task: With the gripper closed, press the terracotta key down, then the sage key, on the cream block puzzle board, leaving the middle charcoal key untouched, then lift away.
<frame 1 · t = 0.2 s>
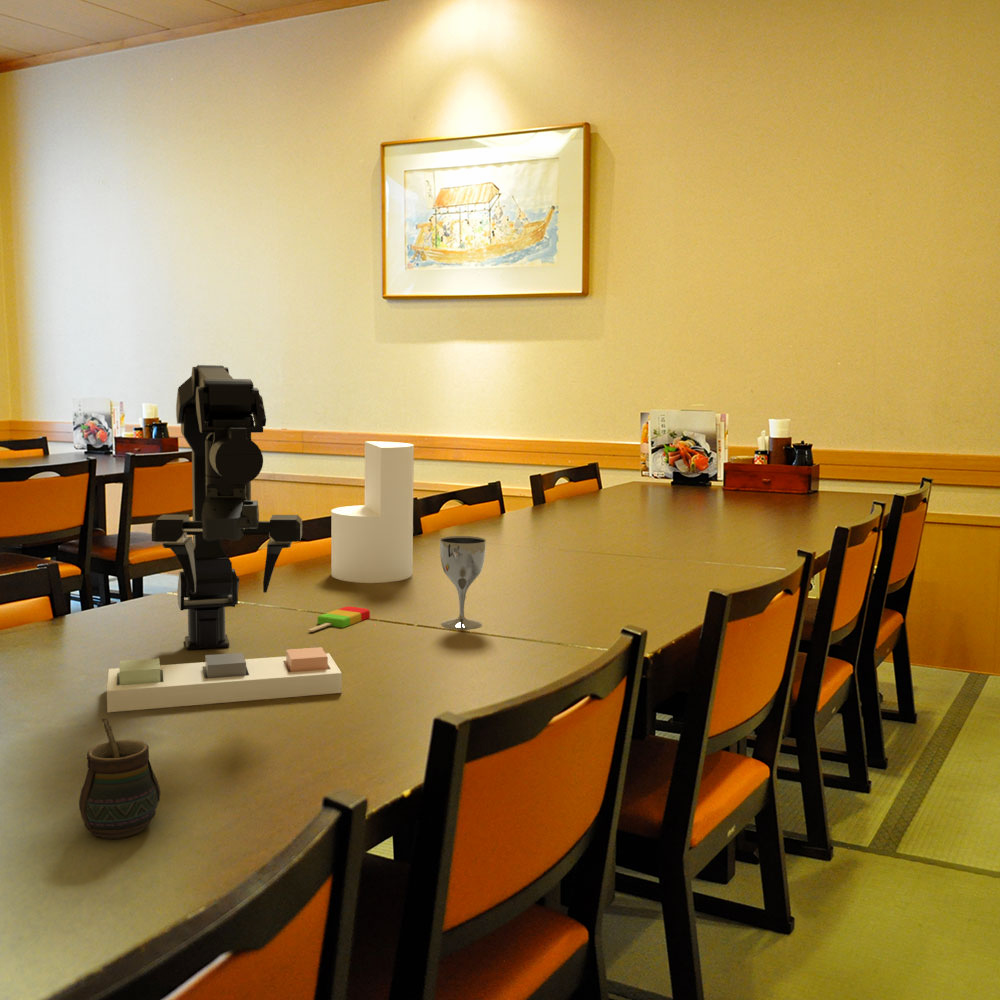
hand: (229, 592, 136), 14 cm above the table, fingers open, 9 cm apart
mate gourd: (119, 830, 99), on the table
terracotta key: (306, 661, 143), point 3 cm above the table, slide at 0.0 cm
wine glass: (461, 625, 179), on the table
cylinder: (371, 575, 220), on the table
popsicle: (335, 627, 178), on the table
charcoal key: (225, 667, 140), point 3 cm above the table, slide at 0.0 cm
cream block puzzle board: (225, 690, 140), on the table
sage key: (140, 673, 136), point 3 cm above the table, slide at 0.0 cm
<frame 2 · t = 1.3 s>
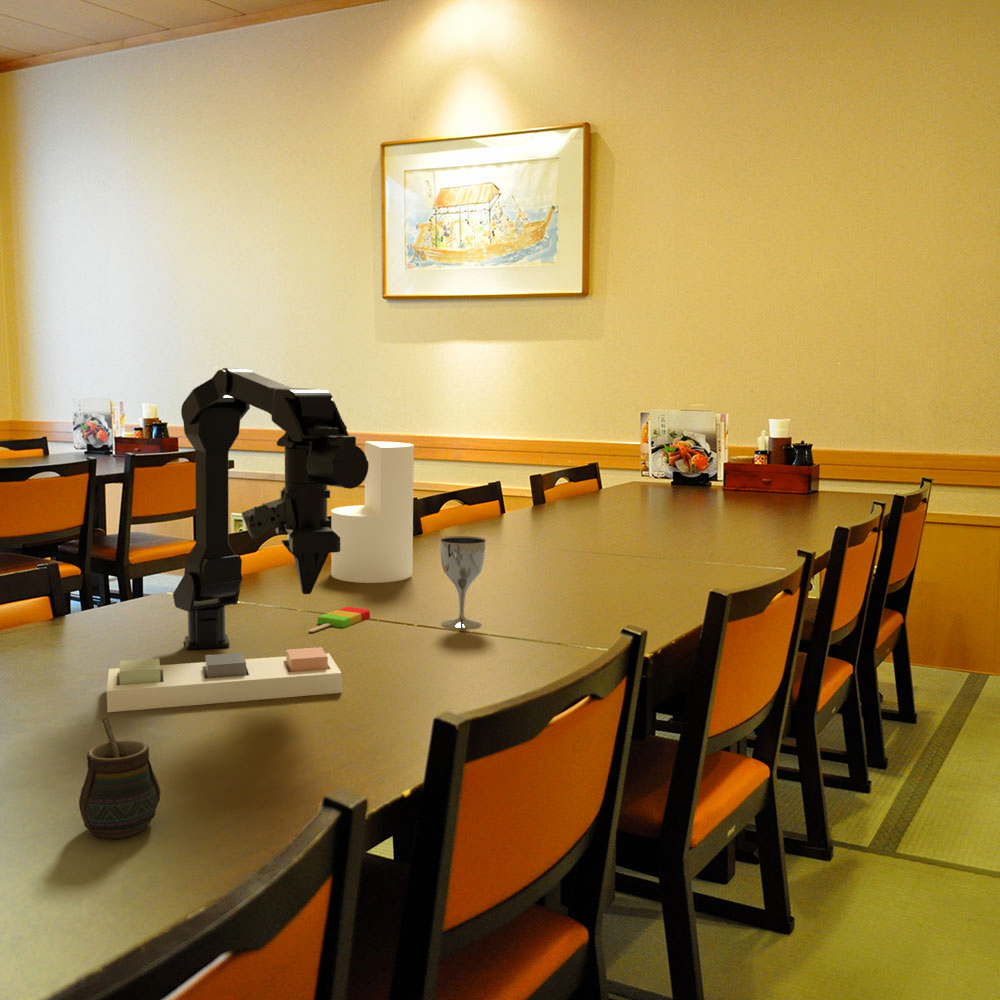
hand: (306, 593, 142), 13 cm above the table, fingers closed
nothing on the table moved.
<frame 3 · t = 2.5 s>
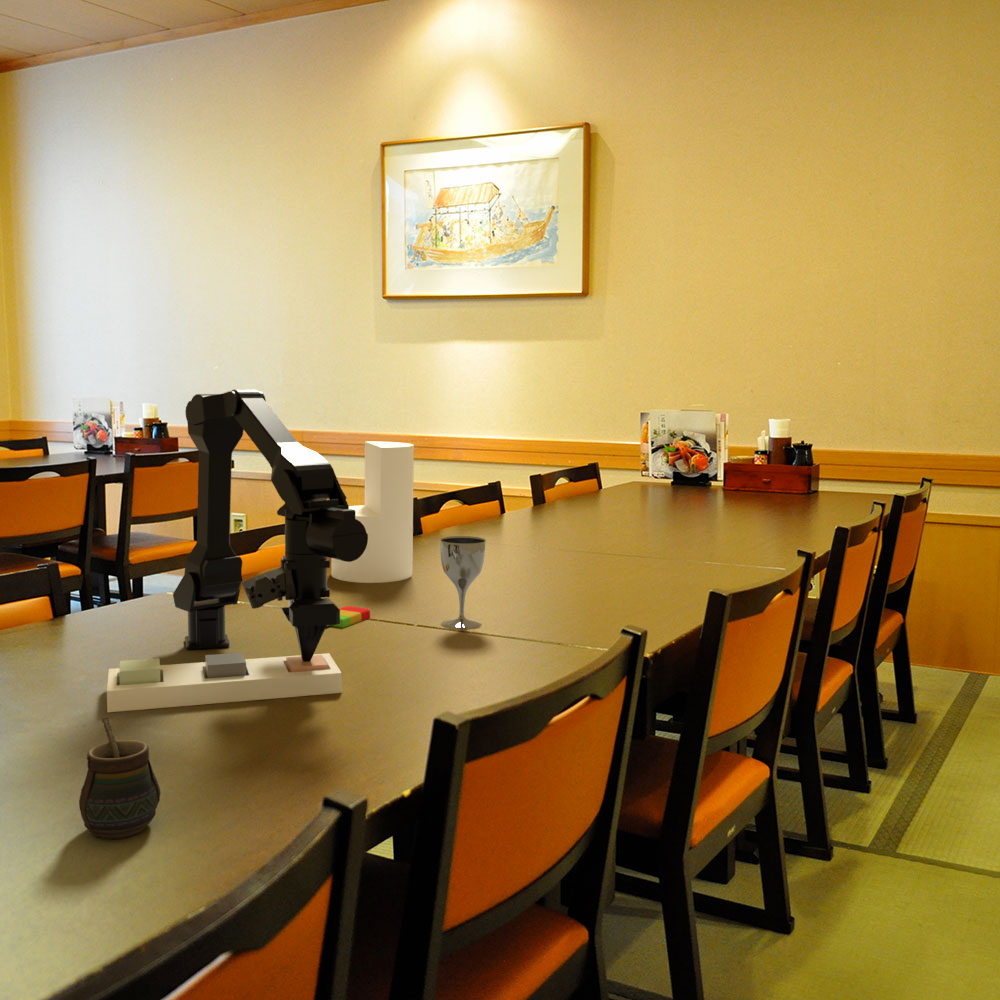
hand: (306, 660, 143), 3 cm above the table, fingers closed, pressing on terracotta key
terracotta key: (306, 669, 144), point 2 cm above the table, slide at 1.1 cm, touching gripper
everything else where it was.
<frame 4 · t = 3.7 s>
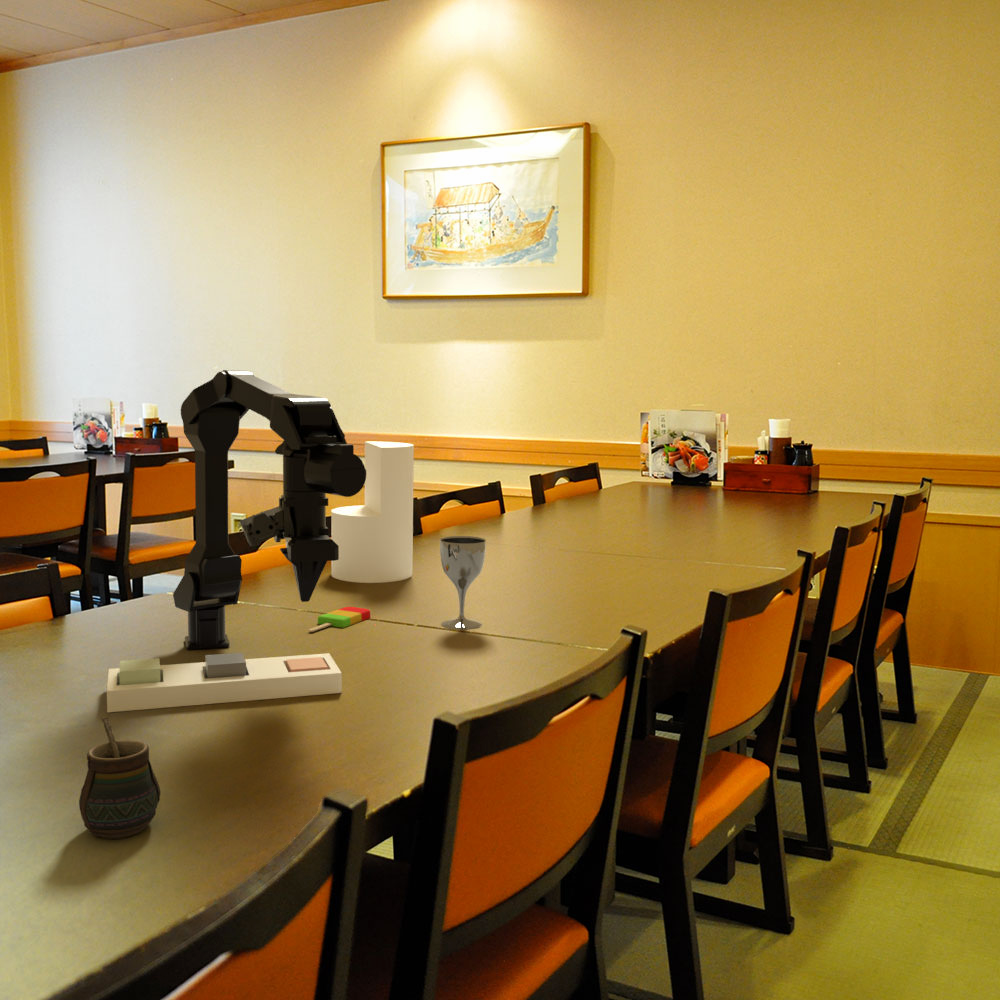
hand: (304, 601, 142), 12 cm above the table, fingers closed
terracotta key: (306, 671, 144), point 2 cm above the table, slide at 1.5 cm
everything else where it was.
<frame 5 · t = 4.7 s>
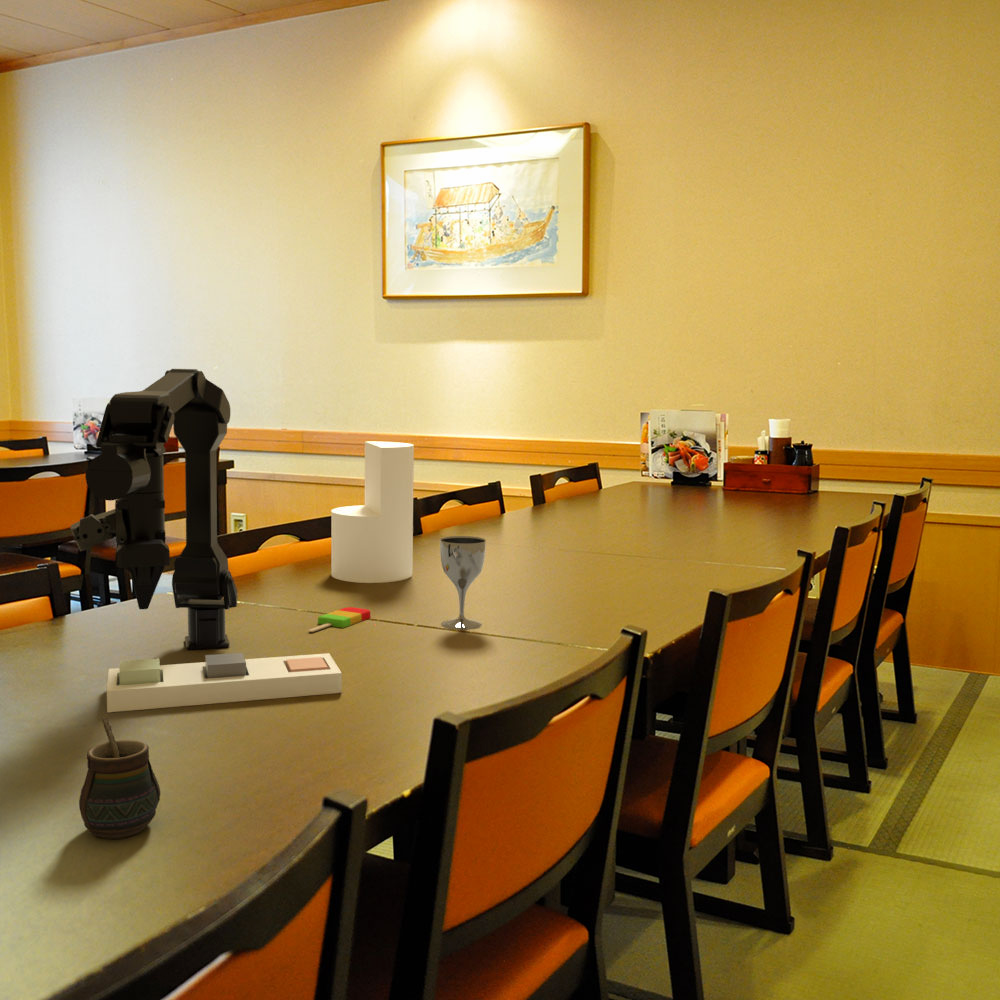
hand: (143, 608, 135), 12 cm above the table, fingers closed
nothing on the table moved.
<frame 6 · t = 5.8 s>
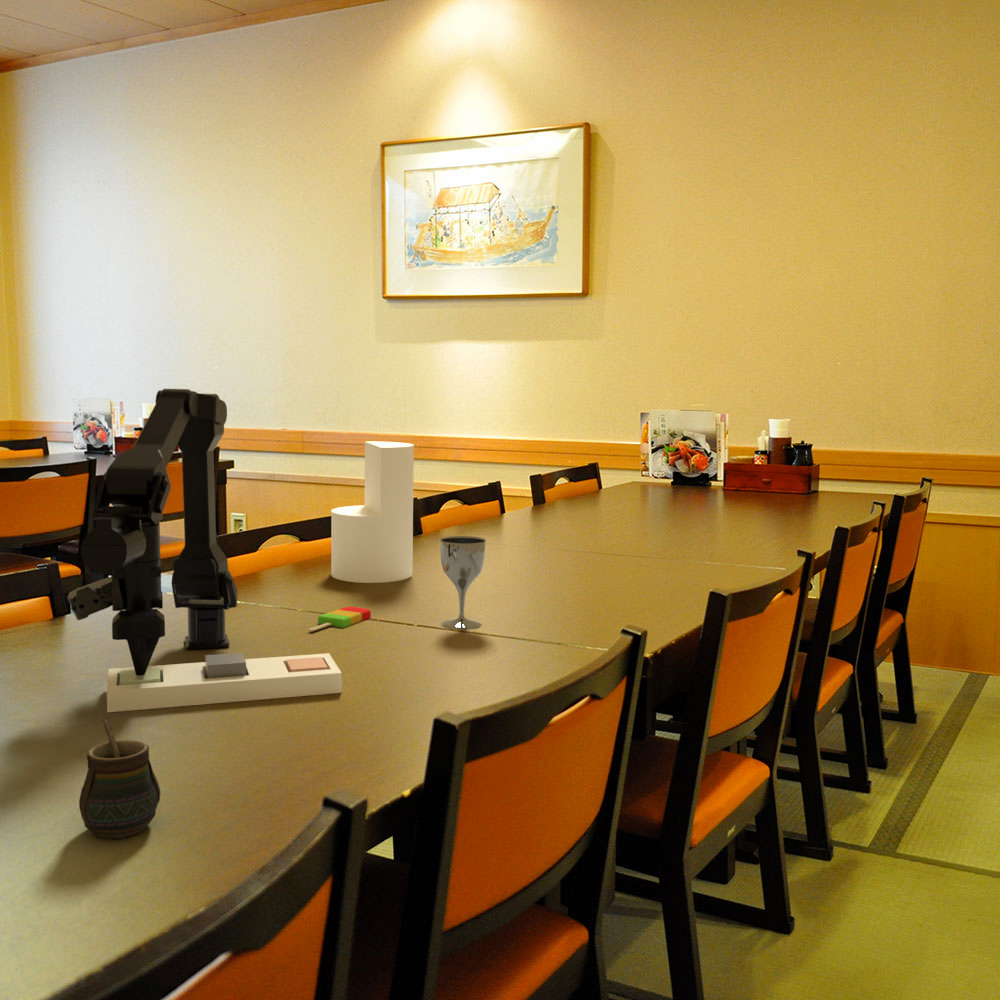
hand: (140, 674, 136), 3 cm above the table, fingers closed, pressing on sage key
sage key: (140, 683, 136), point 2 cm above the table, slide at 1.4 cm, touching gripper
everything else where it was.
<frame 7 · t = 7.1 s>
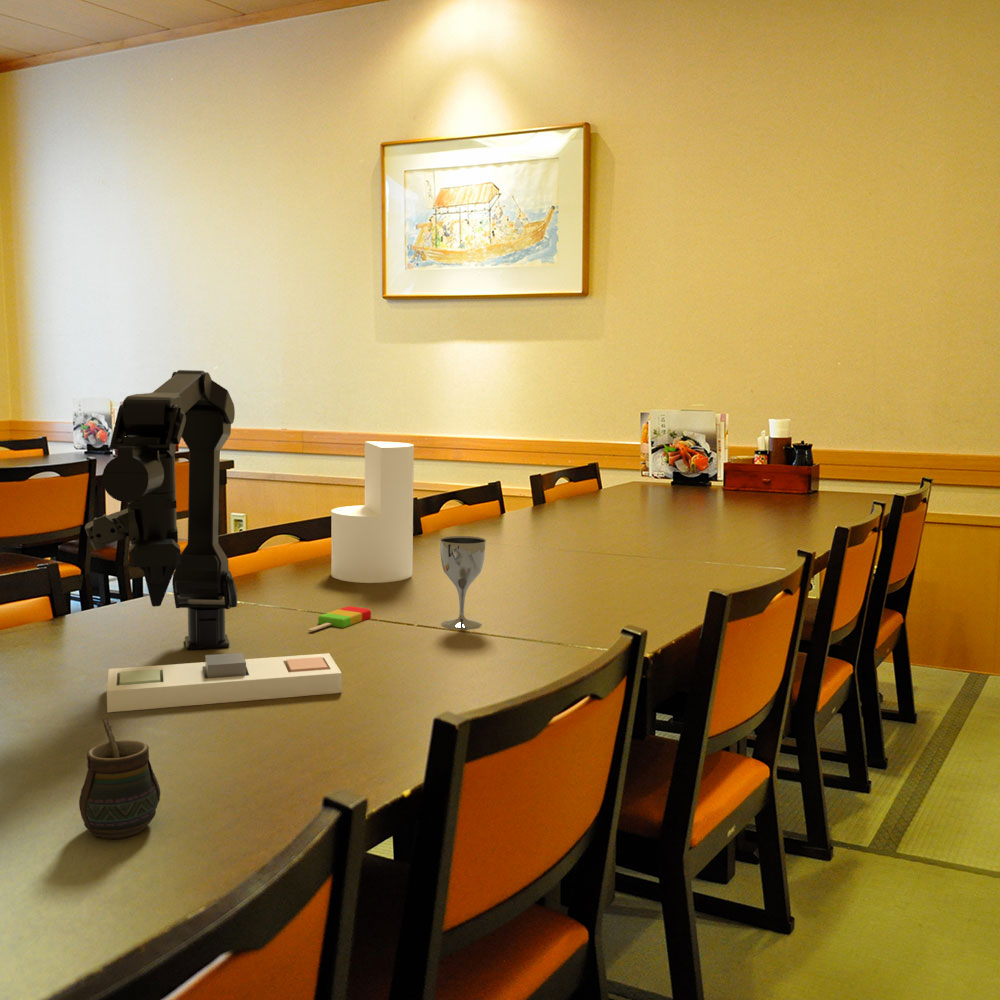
hand: (156, 605, 138), 12 cm above the table, fingers closed
sage key: (140, 684, 136), point 2 cm above the table, slide at 1.5 cm
everything else where it was.
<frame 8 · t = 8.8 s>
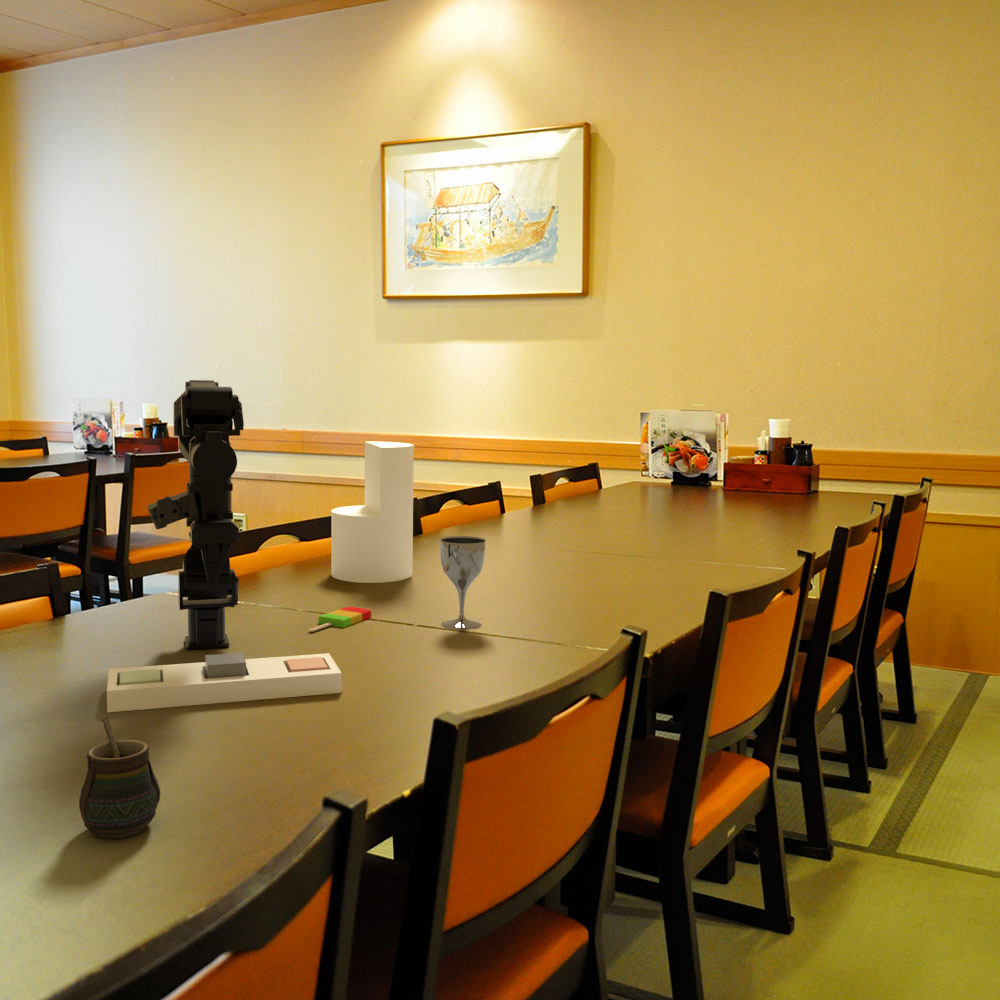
hand: (212, 583, 148), 13 cm above the table, fingers closed
nothing on the table moved.
at the end: terracotta key slide at 1.5 cm; sage key slide at 1.5 cm; charcoal key slide at 0.0 cm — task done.
